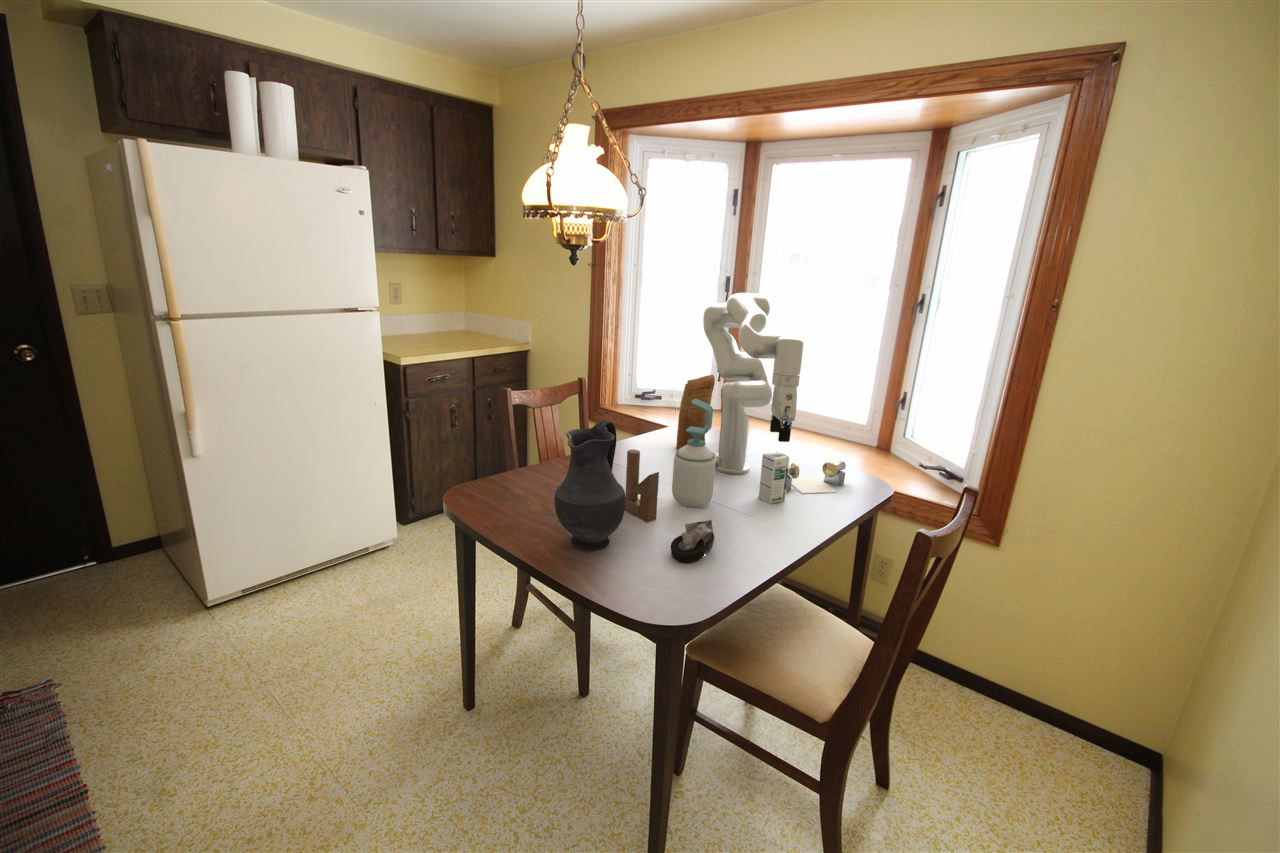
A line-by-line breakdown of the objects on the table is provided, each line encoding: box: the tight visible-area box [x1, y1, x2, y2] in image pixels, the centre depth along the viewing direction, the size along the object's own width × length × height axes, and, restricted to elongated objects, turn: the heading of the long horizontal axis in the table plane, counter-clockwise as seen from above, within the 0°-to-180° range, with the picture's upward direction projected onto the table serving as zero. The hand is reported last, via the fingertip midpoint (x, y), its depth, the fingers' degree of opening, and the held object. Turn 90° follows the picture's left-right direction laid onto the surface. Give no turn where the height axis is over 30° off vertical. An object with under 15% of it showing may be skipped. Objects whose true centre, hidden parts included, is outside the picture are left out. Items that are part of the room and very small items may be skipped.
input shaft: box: [786, 462, 800, 491], centre depth 180 cm, size 8×5×8 cm, turn 101°
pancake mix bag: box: [675, 374, 716, 450], centre depth 213 cm, size 7×19×28 cm, turn 131°
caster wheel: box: [670, 519, 715, 564], centre depth 135 cm, size 7×11×10 cm
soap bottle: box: [671, 399, 716, 509], centre depth 162 cm, size 12×12×31 cm
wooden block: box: [625, 449, 660, 523], centre depth 154 cm, size 4×11×18 cm, turn 42°
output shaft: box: [821, 460, 847, 487], centre depth 185 cm, size 8×5×8 cm, turn 131°
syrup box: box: [758, 451, 790, 505], centre depth 169 cm, size 6×6×14 cm
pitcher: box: [554, 419, 626, 552], centre depth 137 cm, size 17×21×30 cm
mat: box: [791, 477, 837, 495], centre depth 183 cm, size 12×12×1 cm
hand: (779, 436), depth 165 cm, fingers open, 9 cm apart
